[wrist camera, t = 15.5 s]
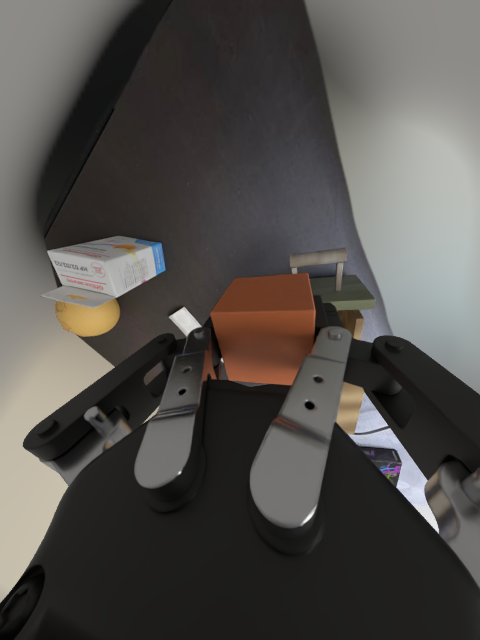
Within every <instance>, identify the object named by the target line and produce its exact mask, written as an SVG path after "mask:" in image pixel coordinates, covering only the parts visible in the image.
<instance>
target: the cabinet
mask: <svg viewBox="0 0 480 640" xmlns="http://www.w3.org/2000/svg"><path fill="white" fill-rule="evenodd" d="M363 395H364V390H363V388H362V387H359V386H355V385H352V384H349V383H346V382H344V384H343V389H342V394H341V399H340V404H339V409H338V415H337V420H336V422H337V423H338V424H339V426H340V427H341V428H342V429H343V430H344V431H345V432H346V433H348V434H354V433H355V428H356V424H357V420H358V416H359V412H360V408H361V404H362V399H363Z"/></svg>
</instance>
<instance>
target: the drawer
mask: <svg viewBox="0 0 480 640" xmlns="http://www.w3.org/2000/svg"><path fill="white" fill-rule="evenodd" d="M346 259H347V249H346V248H341V249H333V250H325V251H317V252H309V253H300V254H292V255H290V268H292V274H297V267H303V266H312V265H322V264H331V263H336V275H335V277H324V278H312V279H310V285H311V290H312V295H321V298H322V302H323V303H326V302H330V303H332V304H333V305H334V306H335V307H336V309H337V312H338V315H339V317H340V320H341V322H342V325H343V328H344V329H346V330H348V331H349V332H350V333H351V335H352V338H354V339H357V340H360V338H361V332H362V327H363V321H364V318H363V316H362V314H361V313H360V311H359V309H374V305H375V301H376V299H375V298H374V297H373V295H372V294H371V293H370V292H369V291H368V289H367V288H366V287H365V286H364V284H363V283H362V282H361V281H360V279H359V278H358V277H357V276H356V275H347V276H342V270H343V262H346Z"/></svg>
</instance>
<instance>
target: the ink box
mask: <svg viewBox="0 0 480 640" xmlns="http://www.w3.org/2000/svg"><path fill="white" fill-rule="evenodd" d="M47 253H48V255H49V257H50V259H51V261H52V264H53V266H54V268H55V270H56V272H57V274H58V276H59V279H60V281H61V283H62V285H63V286H62V287H60V288H57V289H54V290H52V291H49V292H46V293H43V294H41V295H40V296H41V297H44V298H49V299H53V300H57V301H61V302H65V303H70V304H75V305H80V306H85V307H89V308H96V307H98V306H100V305H102V304H104V303H106V302H108V301H110V300H112V299H114V298H117V297H119V296H121V295H122V294H124V293H126V292H128V291H130V290H131V289H133V288H135V287H137V286H138V285H140V284H142V283H144V282H145V281H147V280H149V279H151V278H153V277H154V276H156V275H158V274H160V273H161V272H163V271H165V270H166V269H165V263H164V256H163V250H162V243H159V242H152V241H146V240H140V239H135V238H129V237H123V236H115V237H111V238H106V239H101V240H96V241H92V242H87V243H82V244H78V245H73V246H68V247H63V248H58V249H53V250H48V251H47ZM67 295H77V296H81V297H85V298H88V299H84V300H83V299H72V298H71V297H69V296H67Z"/></svg>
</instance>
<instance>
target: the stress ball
mask: <svg viewBox="0 0 480 640" xmlns="http://www.w3.org/2000/svg"><path fill="white" fill-rule="evenodd" d="M67 296H69V297H71V298H72V299H83V300H84V299H88V298H85V297H81V296H77V295H67ZM55 310H56V317H57V319H58V321H59V322H60V324H61V325H62V327H63V328H64V329H65V330H67V331H70V332H72V333H74V334H77V335H78V336H83V337H86V336H96V335H100V334H103V333H105V332H107V331H109V330H110V329H112V328H113V327H114V326H115V324H116V323H117V321H118V319H119V316H120V307H119V304H118V302H117V300H116V299H115V298H114V299H112V300H110V301H108V302H106V303H104V304H102V305H100V306H98V307H96V308H89V307H85V306H80V305H75V304H70V303H65V302H61V301H57V302H56V304H55Z"/></svg>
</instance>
